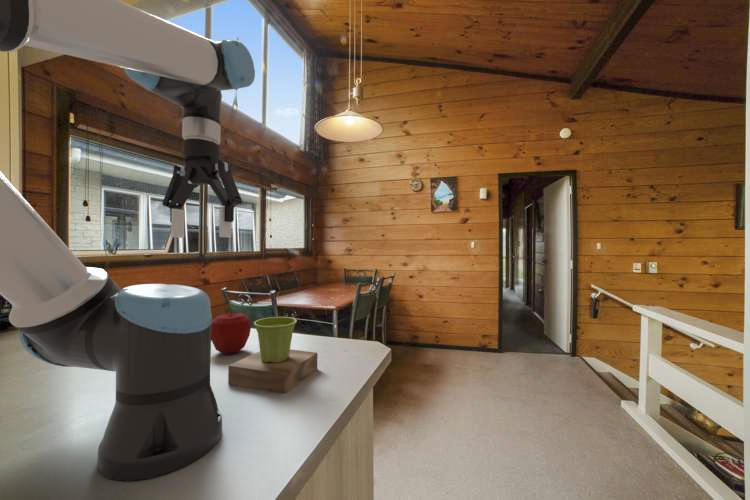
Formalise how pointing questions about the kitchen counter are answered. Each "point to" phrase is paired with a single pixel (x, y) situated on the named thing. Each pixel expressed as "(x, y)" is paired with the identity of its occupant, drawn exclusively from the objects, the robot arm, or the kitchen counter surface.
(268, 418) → the kitchen counter surface
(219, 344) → the apple
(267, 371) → the walnut plinth
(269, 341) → the plant pot
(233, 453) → the kitchen counter surface
